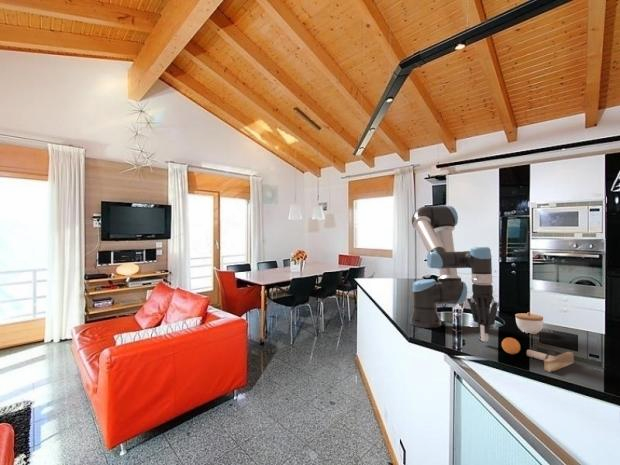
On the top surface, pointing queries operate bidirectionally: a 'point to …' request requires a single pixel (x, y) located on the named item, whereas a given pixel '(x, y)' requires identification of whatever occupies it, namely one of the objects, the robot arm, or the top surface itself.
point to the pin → (538, 355)
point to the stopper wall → (558, 361)
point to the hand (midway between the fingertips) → (484, 340)
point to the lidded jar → (529, 322)
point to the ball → (511, 345)
